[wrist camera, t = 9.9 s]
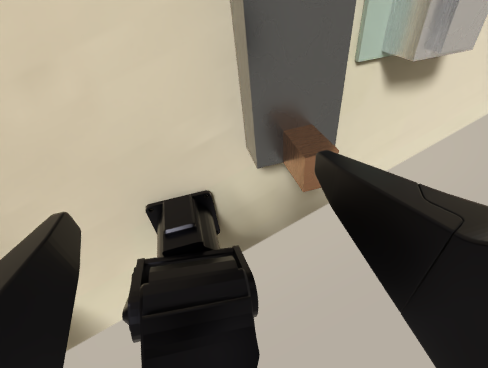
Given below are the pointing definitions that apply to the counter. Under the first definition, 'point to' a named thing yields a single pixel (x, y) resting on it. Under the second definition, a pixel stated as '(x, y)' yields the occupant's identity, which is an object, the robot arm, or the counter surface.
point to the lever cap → (433, 27)
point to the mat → (373, 30)
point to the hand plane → (292, 79)
